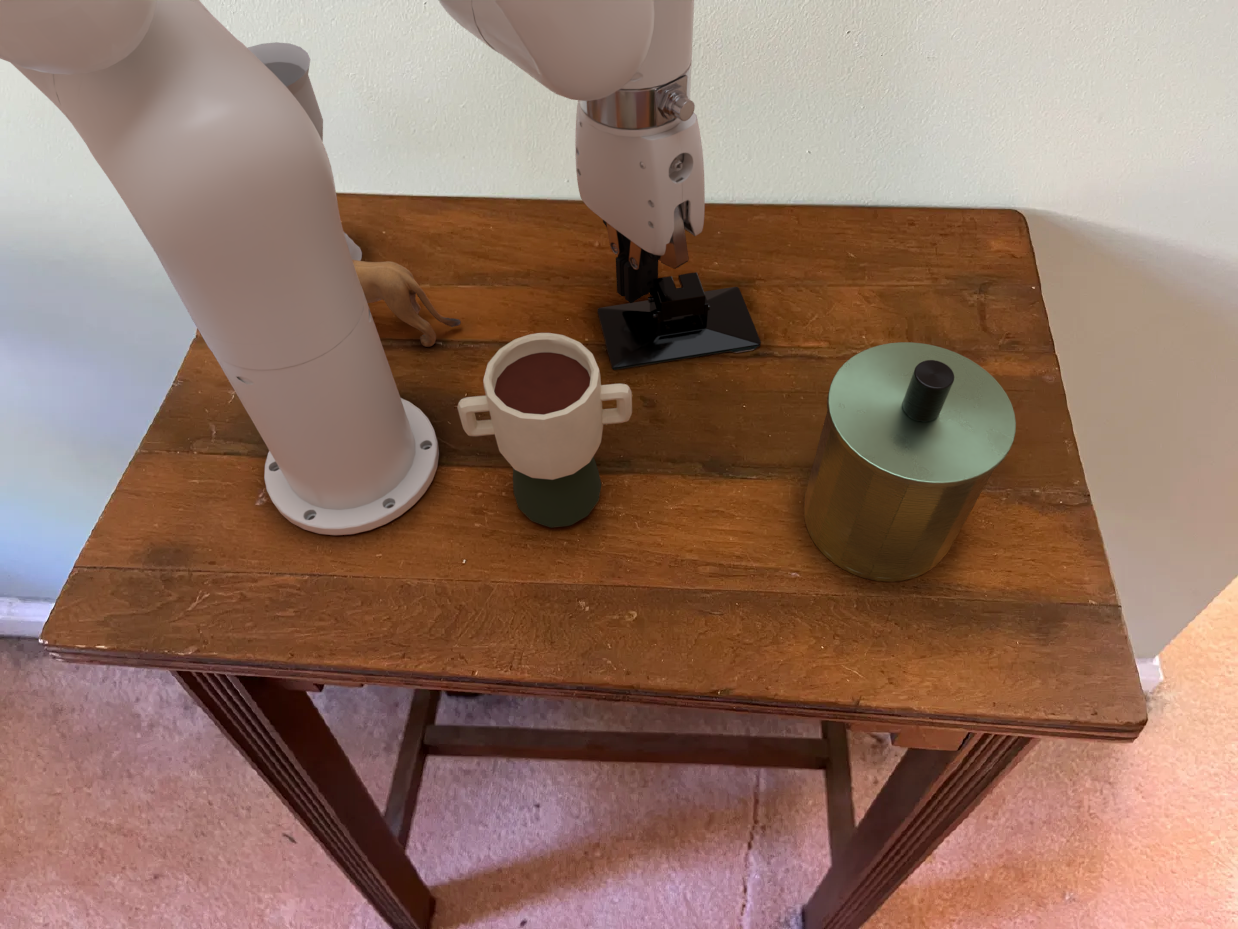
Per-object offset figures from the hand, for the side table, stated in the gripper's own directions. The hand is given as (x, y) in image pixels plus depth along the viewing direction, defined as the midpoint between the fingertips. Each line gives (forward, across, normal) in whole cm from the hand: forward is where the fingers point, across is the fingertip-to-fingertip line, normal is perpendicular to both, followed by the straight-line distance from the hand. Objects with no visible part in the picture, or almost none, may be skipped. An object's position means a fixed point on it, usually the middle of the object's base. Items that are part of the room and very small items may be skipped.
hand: (637, 290), depth 73 cm
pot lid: (-10, -27, +1) cm, 29 cm away
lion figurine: (+2, +13, +19) cm, 23 cm away
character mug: (+2, -11, +17) cm, 20 cm away
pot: (+2, -27, +1) cm, 27 cm away
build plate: (+2, -4, -1) cm, 5 cm away
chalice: (+2, +23, +17) cm, 28 cm away
